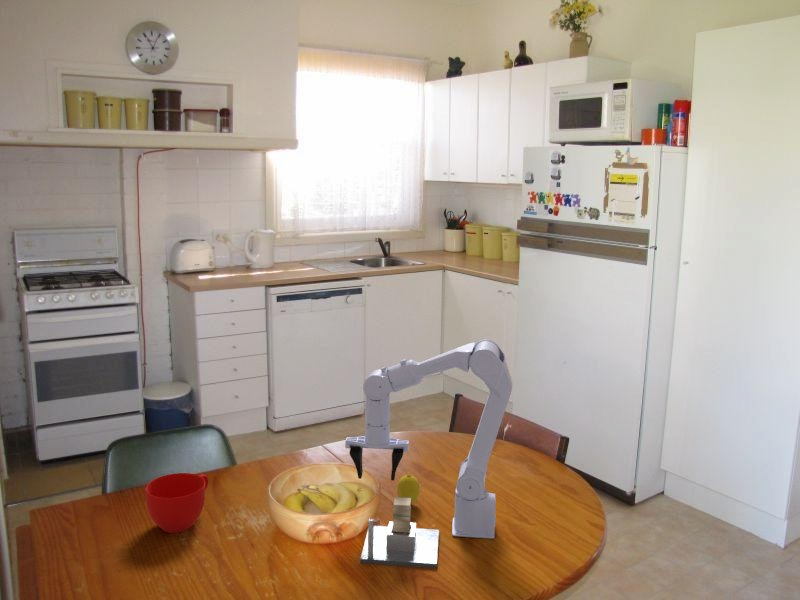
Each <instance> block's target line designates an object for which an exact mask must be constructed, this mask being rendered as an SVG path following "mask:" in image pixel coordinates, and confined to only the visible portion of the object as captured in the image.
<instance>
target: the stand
mask: <svg viewBox="0 0 800 600" xmlns="http://www.w3.org/2000/svg"><path fill="white" fill-rule="evenodd" d="M367 524H368V526H367V527H368V528H367V530H366V535H365V536H366V537H365V540H364V545H363V548H362V551H361V555H360V562H359V563H360V564H366V565H367V564H369V565H380V566H381V565H383V566H399V567H412V568H413V567H414V568H426V569H437V568H438V555H439V554H438V551H439V541H440V540H439V535H440V529H433V528H429V529H428V528H417V522H410V530H409V532H395V531H393V520H392V521H389V522H388V525H387V526H384V525H379V524H381V519H379V518H378V517H376V518H368V521H367Z"/></svg>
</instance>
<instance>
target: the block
mask: <svg viewBox="0 0 800 600" xmlns="http://www.w3.org/2000/svg"><path fill="white" fill-rule="evenodd" d="M411 504H412V503H411V498H402V497H398V496H395V497H394V499H393V504H392V505H393V506H392V507H393V510H392V511H393V512H392V522H393V531H395V532H409V530H410V523H411V516H412V515H411V514H412V513H411V511H412V507H411V506H412V505H411Z"/></svg>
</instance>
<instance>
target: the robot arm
mask: <svg viewBox="0 0 800 600" xmlns="http://www.w3.org/2000/svg"><path fill="white" fill-rule="evenodd" d="M506 360H507V359H506V356H505V352H504V351H503V350H502V349H501V348H500V346H499V344H497V343H496V342H495V341H494V340H491V339H482V340H479V341H477V342H475V341H474V342H469V343H467V344H464V345H461V346H459V347H456V348H453V349H451V350H448V351H446V352H444V353H440V354H438V355H435V356H433V357H430V358H428V359H426V360H423V361H420V362H419V361H416V360H414V359H409V360H407V358H403V359H401V360H400V362H399V363H398V364H395V365H391V366H389V367H387V366H383V367H381V368H380V369H375V370H373V371H372V372H370V373H369V375H368V376H367V378H366V379H365V380H364V382H363V387H362V388H363V393H364V395H365V404H364V406H365V407H364V409H365V410H364V411H365V412H364V436H353V437H349V436H348V437H346V439H345V449H349V456H350V457H351V458H350V459H352V461H353V463H354V466H355V469H356V473H357V478H358V479H362V478H363V472H364V471H363V449H374V450H392V452H391V476H390V480H391V481H392V482H393V481H395V478H396V472H397V469H398V467H399V464H400V462H401V461H402V458H403V455H404V452H406V453H407V452H409V449H410V445H409V444H410V443H409V442H410V440H406V439H399V438H393V437H390V433H391V432H390V431H391V430H390V429H391V427H390V426H391V402H390V399H391V397H390V396H391V393H396V392H400V391H402V390H405V389H408V388H411V387H414V386H418V385H420V384H421V383H422V381H423V379H424V377H426V376H427V377H428V376H430V375H434V374H438V373H441V372H445V371H447V370H451V369H454V368H457V369H459V370H461V371H464V372H466V373H468V372H469V370H471V372H472V373H473V374H474V375H475V376H476V377H478V378H479V379H480V380H481V381H483V382H484V384H485V385H486V387H487V388H488V390H489V393H488V395H487V398H486V401H485V404H484V408H483V410H482V412H481V413H482V414H481V417H480V420H479V423H478V426H477V429H476V432H475V435H474V439H473V441H472V445H471V447H470V449H469V451H468V455H467V457H466V458H465V459H464V460H463V461H462V462H461V463H460V467H459V474H458V478H457V481H456V484H455V485H456V487H455V492H454V494H455V495H454V517H452V524H451V525H452V526H451V528H452V529H451V535H452V536H453V537H461V538H462V537H464V538H478V539H479V538H480V539H495V529H496V527H495V526H496V525H497V518H496V513H497V511H496V508H497V507H496V505H497V503H496V500H497V499H496V497H497V496H496V493H492V492H488V490H487V488H486V487H485V483H486V476H487V473H488V471H487V468H488V465H489V461H490V457H491V454H492V451H493V449H494V446H495V443H496V440H497V436H498V433H499V431H500V427H501V424H502V421H503V418H504V415H505V412H506V410H507V406H508V402H509V401H510V397H511V394H512V391H513V381H512V377H511V374H510V370H509V366H508V363H507V361H506Z"/></svg>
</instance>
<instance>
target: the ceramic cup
mask: <svg viewBox="0 0 800 600" xmlns="http://www.w3.org/2000/svg"><path fill="white" fill-rule="evenodd" d="M208 485H209V477H208V476H207V475H206V474H203V473H202V474H199V475H197V474H195V473H187V472H178V473H176V472H175V473H169V474H164V475H162V476H159V477H156V478H154V479H152V480H151V481H150V482H149V483H147V484H146V487H145V490H144V494H145V500H146V506H147V510H148V512H149V516H150V518H151V519H152V520H153V522H154V523H155V525H157V527H159V528H160V529H162V531H163V532H165V533H168V534H179V533H183V532H186V531H188V530H190V529H191V528H192V526H193V525H194V524H195V522H196V521H197V520H198V519H199V518H200V515H201V513H202V511H203V508H204V506H205V505H204V504H205V500H206V499H205V497H206V490H207V488H208Z"/></svg>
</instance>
